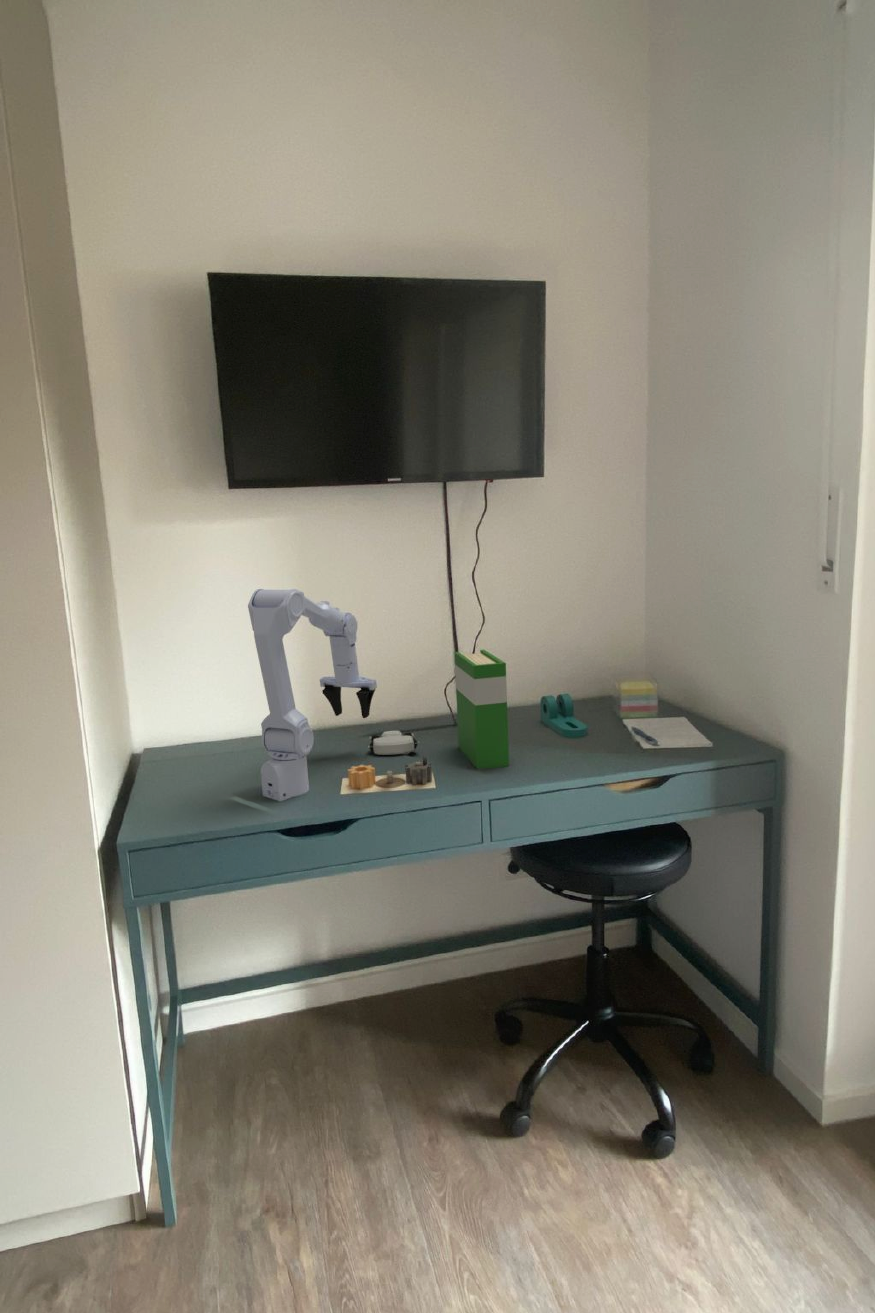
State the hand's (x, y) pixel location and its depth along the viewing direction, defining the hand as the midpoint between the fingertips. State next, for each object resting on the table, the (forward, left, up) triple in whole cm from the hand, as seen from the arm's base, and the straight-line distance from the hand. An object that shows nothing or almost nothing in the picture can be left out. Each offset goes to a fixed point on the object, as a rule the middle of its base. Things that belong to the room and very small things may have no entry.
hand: (352, 715), depth 197 cm
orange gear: (-15, -18, -9) cm, 25 cm away
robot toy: (+8, -5, -11) cm, 14 cm away
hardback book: (+17, -26, -11) cm, 33 cm away
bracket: (+47, -30, -11) cm, 57 cm away
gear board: (-11, -22, -10) cm, 26 cm away
